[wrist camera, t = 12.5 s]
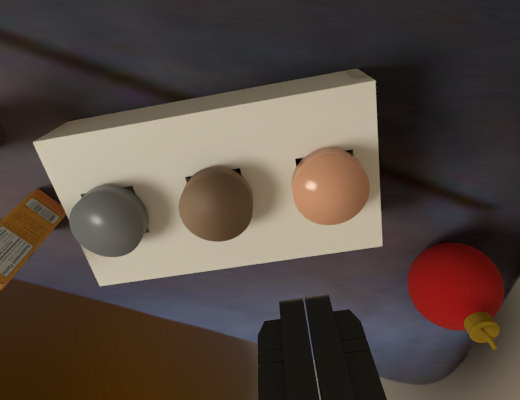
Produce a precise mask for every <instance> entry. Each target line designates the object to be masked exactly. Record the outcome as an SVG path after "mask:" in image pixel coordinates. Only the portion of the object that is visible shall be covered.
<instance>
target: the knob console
mask: <svg viewBox="0 0 520 400" xmlns="http://www.w3.org/2000/svg"><path fill="white" fill-rule="evenodd" d="M33 144H34V146H35V149H36V151H37V153H38V155H39V157H40V159H41V161H42V164H43V166H44V168H45V170H46V172H47V174H48V176H49V179H50V181H51V183H52V185H53V187H54V189H55V191H56V194H57V196H58V198H59V200H60V202H61V204H62V206H63V208H64V211H65V213H66V215H67V217H68V219H69V217H70V213H71V210H72V208H73V207H74V205H75V204H76V203H77V202H78V201H79V200H80V199H81V198H82V197H83V196H84V195H85V194H86V193H87V192H88V191H89V190H91V189H92V188H94V187H97V186H101V185H116V186H120V187H128V186H133V188H134V191H135V194H136V196H138V197H139V198H140V200H141V201H142V202H143V204H144V205H145V207H146V209H147V212H148V217H149V223H148V227H147V230H146V232H145V234H144V235H143V237H142V239H141V241H140V243H139V245H138V246H137V247H136V248H135V249H134V250H133V251H132V252H130V253H129V254H127V255H124V256H120V257H105V256H100V255H97V254H95V253H93V252H91V251H89V250H87V249H86V248H84V247H83V246H82V245H81V244H80V245H81V247H82V249H83V251H84V253H85V256H86V258H87V260H88V262H89V264H90V266H91V268H92V271H93V273H94V275H95V277H96V279H97V281H98V283H99V286H105V285H112V284H119V283H126V282H133V281H140V280H147V279H154V278H161V277H168V276H176V275H183V274H190V273H197V272H204V271H211V270H218V269H225V268H232V267H239V266H246V265H253V264H260V263H267V262H274V261H281V260H288V259H295V258H302V257H309V256H316V255H323V254H331V253H338V252H345V251H352V250H359V249H366V248H373V247H380V246H382V223H381V199H380V175H379V152H378V128H377V104H376V80H374V79H373V78H371V77H369V76H368V75H366V74H365V73H363V72H362V71H360V70H359V69H351V70H346V71H341V72H335V73H330V74H324V75H319V76H313V77H308V78H302V79H297V80H292V81H286V82H281V83H275V84H270V85H264V86H259V87H253V88H248V89H242V90H237V91H232V92H226V93H221V94H215V95H210V96H204V97H199V98H193V99H188V100H183V101H177V102H172V103H166V104H161V105H155V106H150V107H144V108H139V109H133V110H128V111H123V112H117V113H112V114H106V115H101V116H95V117H90V118H84V119H79V120H74V121H68V122H66V123H65V124H63V125H61V126H59V127H58V128H56V129H54V130H53V131H51V132H49V133H47V134H46V135H44V136H42V137H40V138H39V139H37V140H35V141H34V142H33ZM323 148H337V149H341V150H344V151H346V150H349V152H350V154H352V155H353V156H354V157H355V158H356V159H357V160H358V162H359V163H360V165H361V166H362V168H363V169H364V171H365V173H366V175H367V177H368V180H369V184H370V192H369V197H368V200H367V202H366V204H365V206H364V207H363V209H362V210H361V211H360V212H359V213H358V214H357V215H356V216H355V217H353V218H352V219H350V220H348V221H346V222H344V223H341V224H336V225H321V224H317V223H314V222H312V221H310V220H308V219H306V218H305V217H304V216H303V215H302V214H301V213H300V212H299V211H298V209H297V207H296V205H295V202H294V197H293V191H292V176H293V173H294V170H295V168H296V161H295V159H297V158H303V157H305V156H307V155H308V154H310V153H312V152H314V151H316V150H319V149H323ZM209 167H224V168H228V169H237V168H240V170H241V174H242V177H243V178H244V179H245V180H246V181H247V182H248V184H249V186H250V188H251V190H252V193H253V214H252V219H251V222H250V224H249V226H248V227H247V229H246V230H245V231H244V232H243V233H242V234H240V235H239V236H237V237H235V238H233V239H231V240H227V241H221V242H214V241H208V240H204V239H202V238H199V237H197V236H196V235H194V234H193V233H191V232H190V231H189V230H188V229H187V228H186V226H185V225H184V224H183V222H182V220H181V218H180V214H179V200H180V197H181V194H182V192H183V190H184V188H185V185H186V183H187V182H188V180H189V179H190V178H189V176H193V175H194V174H195V173H197V172H198V171H200V170H202V169H205V168H209Z"/></svg>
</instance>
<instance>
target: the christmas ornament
mask: <svg viewBox="0 0 520 400" xmlns="http://www.w3.org/2000/svg"><path fill="white" fill-rule="evenodd" d="M408 291H409V295H410V297H411V300H412V302H413V304H414V305H415V307H416V308H417V310H418V311H419V312H420V313H421V314H422V315H423V316H424V317H425V318H426V319H428V320H429V321H431V322H432V323H434V324H436V325H438V326H441V327H443V328H446V329H450V330H467V332H468V333H469V336H470V338H471V339H472V340H473V341H475V342H478V343H485V342H489V344H490V345H491V347H492V348H493V350H496V349H497V347H496V345H495V344H494V342H493V341H492V340H493V339H495V338H496V337H497V336H498V334H499V332H500V328H499V326H498V324H496V323H495V321H494V320H493V317H494V316H495V315H496V314H497V312H498V311H499V309H500V307H501V304H502V301H503V297H504V285H503V280H502V277H501V274H500V272H499V270H498V268H497V267H496V265H495V264H494V262H493V261H492V260H491V259H490V258H489V257H488V256H487V255H485V254H484V253H483V252H481V251H480V250H478V249H476V248H474V247H471V246H469V245H466V244H462V243H453V242H448V243H441V244H437V245H434V246H431V247H429V248H427V249H426V250H424V251H423V252H421V253H420V254H419V255H418V256H417V257H416V259H415V260H414V261H413V263H412V265H411V267H410V270H409V274H408Z"/></svg>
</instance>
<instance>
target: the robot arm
mask: <svg viewBox="0 0 520 400" xmlns="http://www.w3.org/2000/svg"><path fill="white" fill-rule="evenodd" d="M305 303H306V309H307V316H308V322H309V329H310V335H311V341H312V348H313V354H314V360H315V366H316V371H317V377H318V383H319V389H320V395H321V400H387V399H386V396H385V393H384V390H383V387H382V384H381V381H380V378H379V375H378V372H377V369H376V366H375V363H374V360H373V357H372V354H371V352H370V348H369V345H368V342H367V340H366V336H365V333H364V330H363V327H362V324H361V321H360V320H359V319H358V318H357V317H356V316H355V315H354V314H353V313H352V312H351V311H350V310H341V311H334V312H333V310H332V306H331V302H330V298H329V295H328V294H326V295H319V296H312V297H305ZM279 305H280V317H281V319H277V320H270V321H264V324H263V326H262V328H261V330H260V332H259V334H258V366H259V367H258V393H259V394H258V395H259V396H258V399H259V400H319V395H318V389H317V382H316V377H315V371H314V364H313V358H312V352H311V346H310V340H309V334H308V328H307V321H306V315H305V309H304V303H303V298H298V299H291V300H284V301H279Z"/></svg>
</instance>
